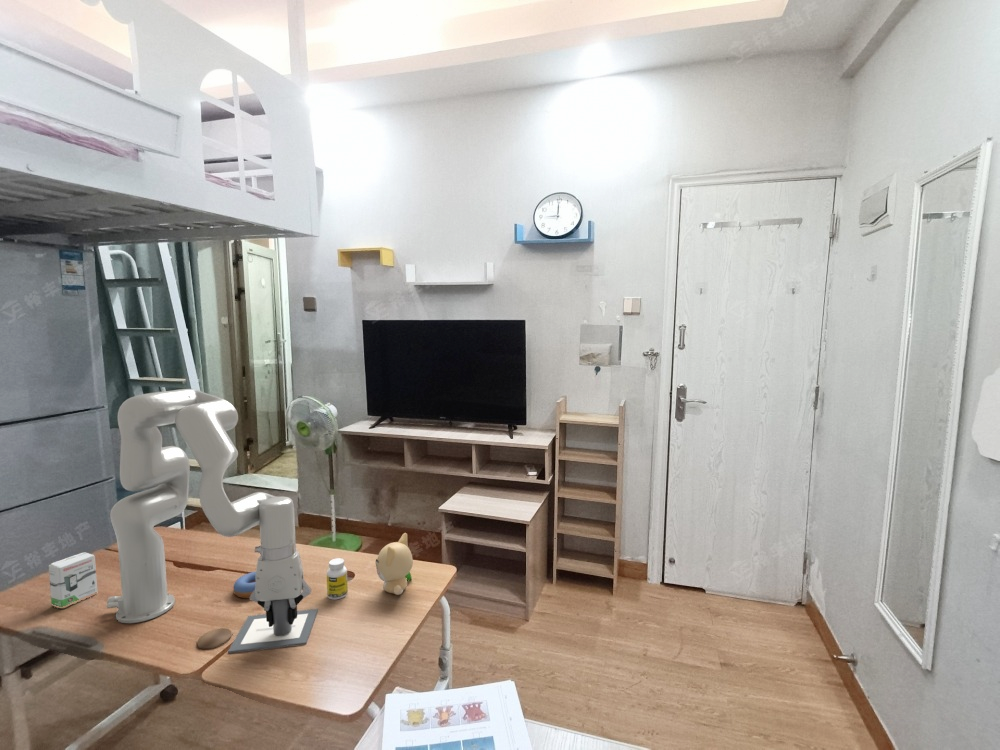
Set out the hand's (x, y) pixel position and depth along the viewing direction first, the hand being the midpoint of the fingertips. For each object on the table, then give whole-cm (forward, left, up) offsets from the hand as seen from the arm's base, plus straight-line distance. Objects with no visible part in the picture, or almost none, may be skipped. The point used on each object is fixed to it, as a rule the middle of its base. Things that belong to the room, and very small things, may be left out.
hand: (282, 621), depth 116 cm
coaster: (-16, +1, -3) cm, 16 cm away
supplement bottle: (+10, +16, -3) cm, 19 cm away
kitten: (+26, +16, -3) cm, 31 cm away
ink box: (-61, +27, -3) cm, 66 cm away
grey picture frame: (-2, +2, -3) cm, 4 cm away
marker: (0, 0, -2) cm, 2 cm away
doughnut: (-14, +23, -4) cm, 27 cm away
